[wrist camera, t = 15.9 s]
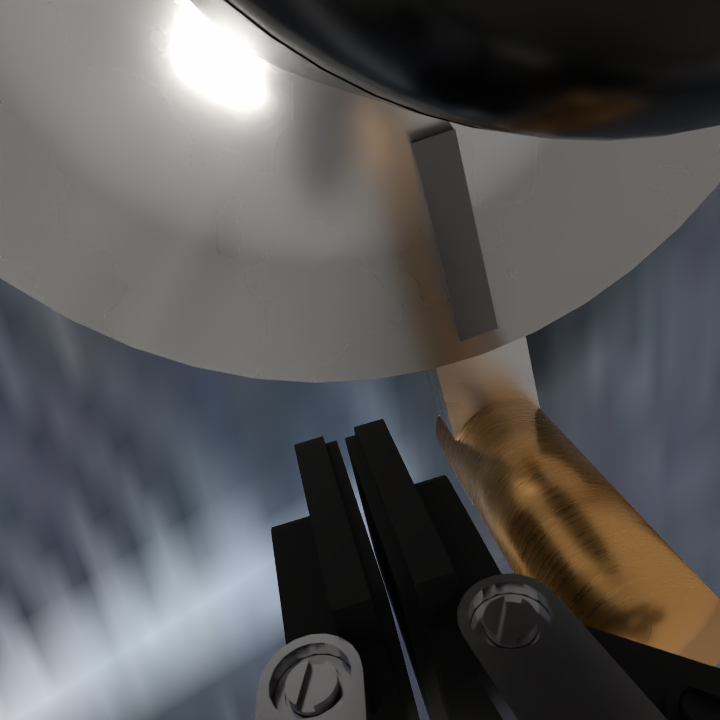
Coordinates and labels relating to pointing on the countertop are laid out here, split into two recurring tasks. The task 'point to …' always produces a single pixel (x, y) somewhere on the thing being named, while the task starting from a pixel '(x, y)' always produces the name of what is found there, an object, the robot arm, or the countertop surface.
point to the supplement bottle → (502, 59)
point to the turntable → (346, 260)
